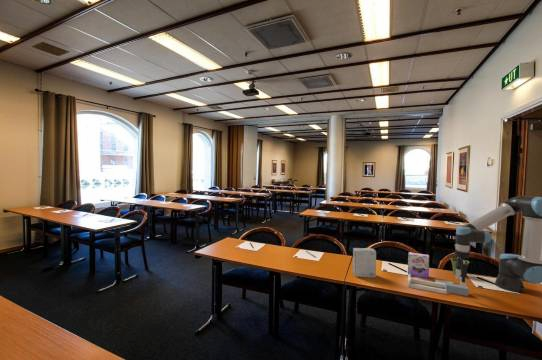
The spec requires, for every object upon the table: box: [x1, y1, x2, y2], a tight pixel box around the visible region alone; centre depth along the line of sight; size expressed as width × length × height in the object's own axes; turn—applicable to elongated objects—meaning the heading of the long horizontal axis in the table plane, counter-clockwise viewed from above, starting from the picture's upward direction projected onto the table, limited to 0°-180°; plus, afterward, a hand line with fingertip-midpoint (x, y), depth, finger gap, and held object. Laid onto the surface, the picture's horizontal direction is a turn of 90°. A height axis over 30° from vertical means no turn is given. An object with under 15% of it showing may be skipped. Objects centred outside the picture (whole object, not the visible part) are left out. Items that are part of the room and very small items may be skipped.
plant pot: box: [450, 257, 470, 276], centre depth 200 cm, size 12×12×11 cm
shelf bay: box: [407, 273, 447, 295], centre depth 177 cm, size 22×11×5 cm, turn 64°
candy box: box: [407, 251, 430, 279], centre depth 198 cm, size 14×6×16 cm, turn 62°
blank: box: [444, 283, 470, 297], centre depth 170 cm, size 12×4×5 cm, turn 65°
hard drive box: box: [352, 247, 377, 279], centre depth 196 cm, size 16×8×20 cm, turn 84°
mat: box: [434, 278, 454, 288], centre depth 183 cm, size 11×11×1 cm
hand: (460, 282), depth 169 cm, fingers open, 13 cm apart
